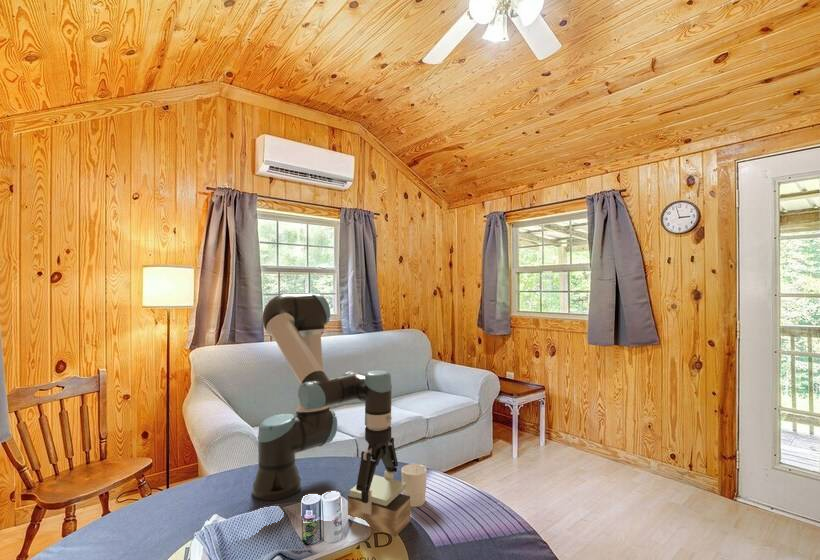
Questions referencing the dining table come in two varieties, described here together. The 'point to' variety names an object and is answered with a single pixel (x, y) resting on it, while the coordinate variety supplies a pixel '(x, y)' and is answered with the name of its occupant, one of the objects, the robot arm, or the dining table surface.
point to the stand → (383, 514)
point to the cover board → (382, 490)
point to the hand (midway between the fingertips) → (378, 502)
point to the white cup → (414, 483)
